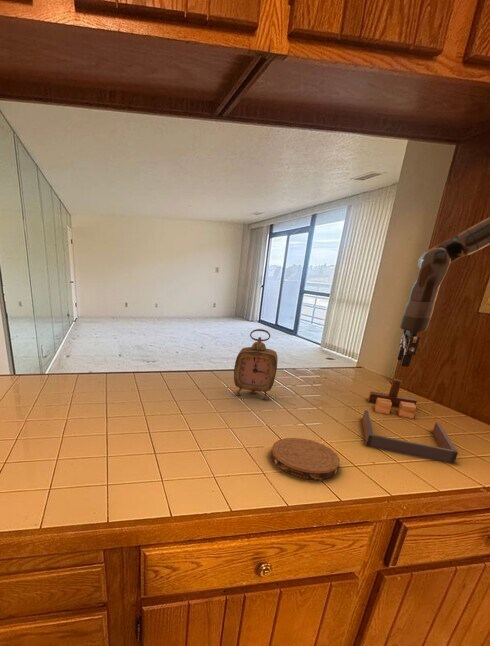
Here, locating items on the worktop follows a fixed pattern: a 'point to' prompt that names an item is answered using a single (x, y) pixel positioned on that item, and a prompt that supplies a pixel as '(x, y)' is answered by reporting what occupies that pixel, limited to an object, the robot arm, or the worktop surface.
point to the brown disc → (305, 459)
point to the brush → (391, 395)
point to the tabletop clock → (255, 367)
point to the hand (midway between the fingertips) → (402, 363)
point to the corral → (412, 443)
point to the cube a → (383, 405)
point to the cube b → (406, 409)
